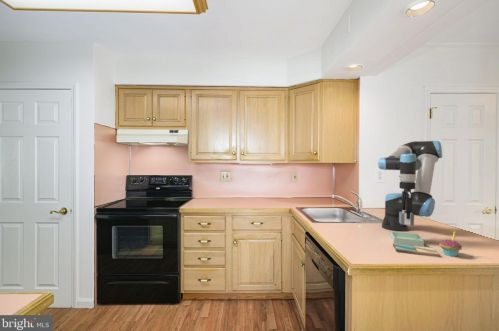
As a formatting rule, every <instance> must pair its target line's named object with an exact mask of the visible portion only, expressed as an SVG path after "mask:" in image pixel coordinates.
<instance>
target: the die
mask: <svg viewBox="0 0 499 331" xmlns="http://www.w3.org/2000/svg"><path fill="white" fill-rule="evenodd" d="M399 223H400V224H401V225H405V213H404V212H399ZM410 226H411V227H413V226H415V215H414V214H413V213H411V225H410Z"/></svg>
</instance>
